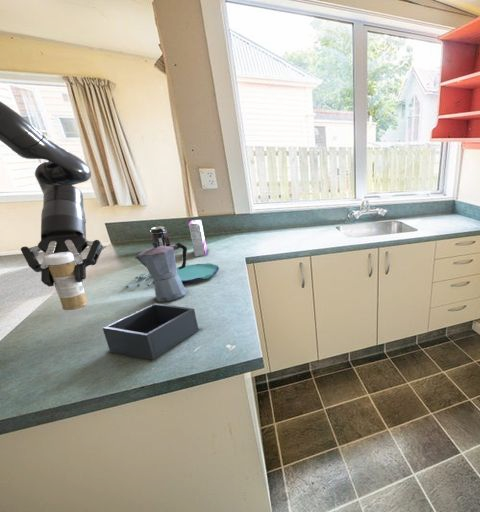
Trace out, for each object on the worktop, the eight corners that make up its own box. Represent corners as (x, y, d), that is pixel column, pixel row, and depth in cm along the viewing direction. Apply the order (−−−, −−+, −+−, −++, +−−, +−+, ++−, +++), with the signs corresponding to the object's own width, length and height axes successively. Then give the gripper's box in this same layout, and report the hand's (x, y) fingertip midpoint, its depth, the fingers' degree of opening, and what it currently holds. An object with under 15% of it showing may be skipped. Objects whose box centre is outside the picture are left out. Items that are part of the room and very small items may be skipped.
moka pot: (140, 301, 100) (124, 245, 94) (185, 285, 113) (174, 234, 107) (156, 307, 96) (141, 249, 90) (202, 290, 109) (191, 237, 103)
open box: (153, 359, 71) (146, 335, 69) (109, 351, 74) (102, 328, 72) (198, 329, 84) (194, 308, 82) (160, 323, 87) (154, 303, 85)
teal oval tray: (215, 282, 116) (214, 276, 116) (122, 292, 107) (120, 286, 106) (223, 265, 134) (222, 261, 134) (144, 273, 125) (143, 268, 124)
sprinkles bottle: (71, 303, 73) (53, 252, 69) (93, 301, 75) (77, 250, 70) (57, 312, 69) (37, 258, 65) (81, 310, 70) (63, 256, 66)
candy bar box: (196, 250, 156) (190, 220, 151) (207, 249, 158) (201, 219, 153) (194, 256, 146) (187, 224, 141) (205, 255, 148) (199, 223, 143)
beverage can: (167, 251, 155) (162, 228, 151) (152, 252, 153) (147, 229, 149) (173, 247, 161) (168, 226, 157) (158, 248, 159) (153, 226, 156)
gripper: (12, 215, 67) (8, 282, 61) (97, 211, 75) (100, 270, 69) (30, 233, 73) (27, 296, 67) (106, 227, 81) (110, 283, 75)
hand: (64, 282), depth 68 cm, fingers closed on sprinkles bottle, 4 cm apart
